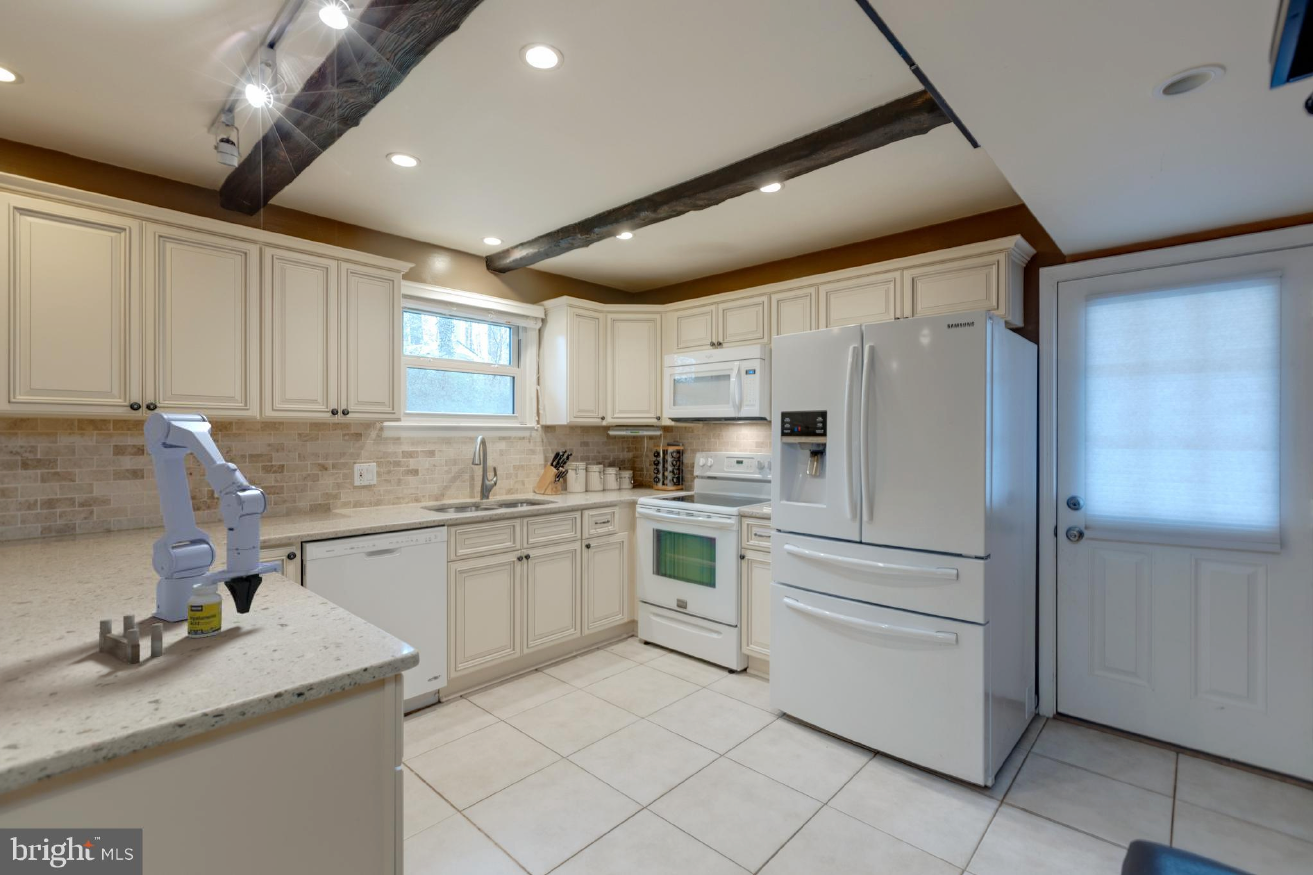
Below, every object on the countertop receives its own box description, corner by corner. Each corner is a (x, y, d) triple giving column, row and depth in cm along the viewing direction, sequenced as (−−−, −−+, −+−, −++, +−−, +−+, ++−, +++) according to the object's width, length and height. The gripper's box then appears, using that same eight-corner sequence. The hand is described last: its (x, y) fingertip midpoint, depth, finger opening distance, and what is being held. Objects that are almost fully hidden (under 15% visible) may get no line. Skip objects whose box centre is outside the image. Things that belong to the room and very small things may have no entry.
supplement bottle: (184, 640, 114) (184, 589, 114) (191, 631, 118) (191, 583, 118) (218, 636, 116) (219, 586, 116) (224, 627, 121) (224, 580, 121)
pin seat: (97, 650, 108) (97, 620, 108) (131, 642, 112) (131, 613, 112) (130, 664, 102) (130, 632, 102) (165, 655, 106) (165, 624, 106)
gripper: (214, 555, 115) (214, 625, 115) (290, 543, 128) (289, 606, 128) (195, 551, 118) (195, 619, 118) (271, 540, 131) (270, 601, 131)
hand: (243, 612), depth 123 cm, fingers closed
